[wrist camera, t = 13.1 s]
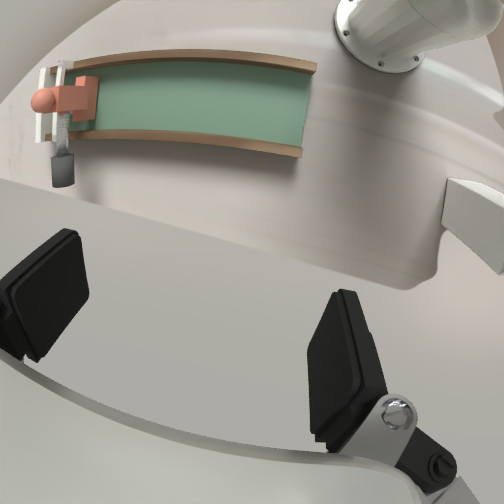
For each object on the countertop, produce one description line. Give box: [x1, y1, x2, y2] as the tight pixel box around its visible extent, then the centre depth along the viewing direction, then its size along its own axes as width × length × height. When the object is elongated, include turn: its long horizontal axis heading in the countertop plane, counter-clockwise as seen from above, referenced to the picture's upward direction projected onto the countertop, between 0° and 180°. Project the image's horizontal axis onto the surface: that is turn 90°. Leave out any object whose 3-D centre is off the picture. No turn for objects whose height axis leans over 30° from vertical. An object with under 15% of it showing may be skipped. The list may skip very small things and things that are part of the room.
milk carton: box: [441, 178, 504, 275], centre depth 24 cm, size 7×7×19 cm
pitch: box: [45, 49, 317, 158], centre depth 28 cm, size 11×36×4 cm, turn 82°
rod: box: [31, 76, 99, 188], centre depth 25 cm, size 14×3×12 cm, turn 172°
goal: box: [35, 60, 74, 143], centre depth 27 cm, size 11×6×5 cm, turn 172°
